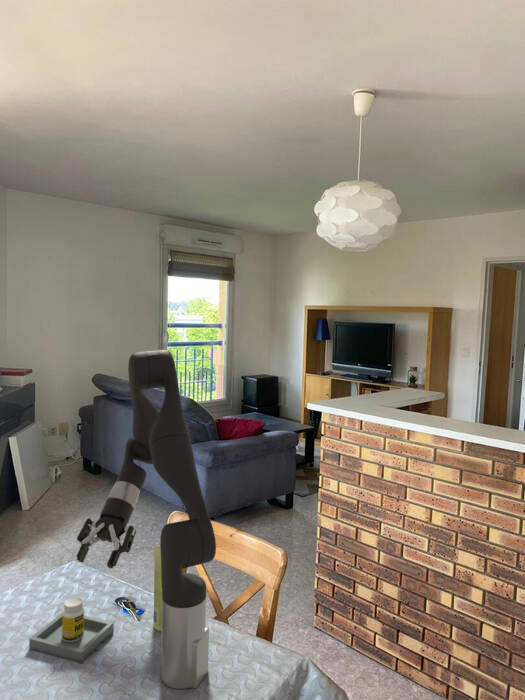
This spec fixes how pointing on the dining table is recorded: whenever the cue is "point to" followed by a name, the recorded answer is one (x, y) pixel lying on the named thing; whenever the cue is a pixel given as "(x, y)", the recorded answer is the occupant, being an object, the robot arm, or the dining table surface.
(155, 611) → the tube
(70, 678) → the dining table surface
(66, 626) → the supplement bottle
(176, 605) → the robot arm
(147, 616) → the dining table surface
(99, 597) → the dining table surface
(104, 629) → the tray
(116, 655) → the dining table surface
